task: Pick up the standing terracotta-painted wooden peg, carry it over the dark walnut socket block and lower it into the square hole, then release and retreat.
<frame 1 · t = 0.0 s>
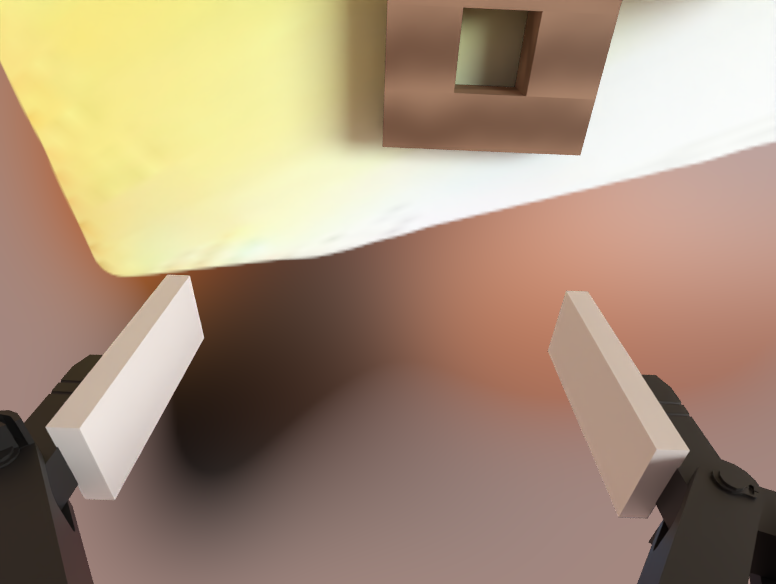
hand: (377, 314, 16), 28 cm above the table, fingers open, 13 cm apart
socket block: (491, 19, 35), on the table
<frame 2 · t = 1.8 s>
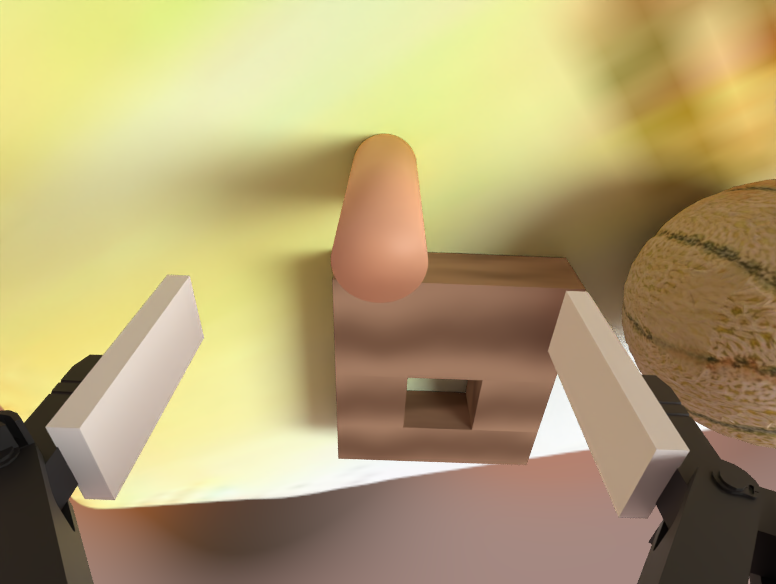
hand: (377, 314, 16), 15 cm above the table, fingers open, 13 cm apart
peg: (384, 166, 29), on the table
socket block: (439, 350, 37), on the table
cantaloupe: (696, 248, 32), on the table
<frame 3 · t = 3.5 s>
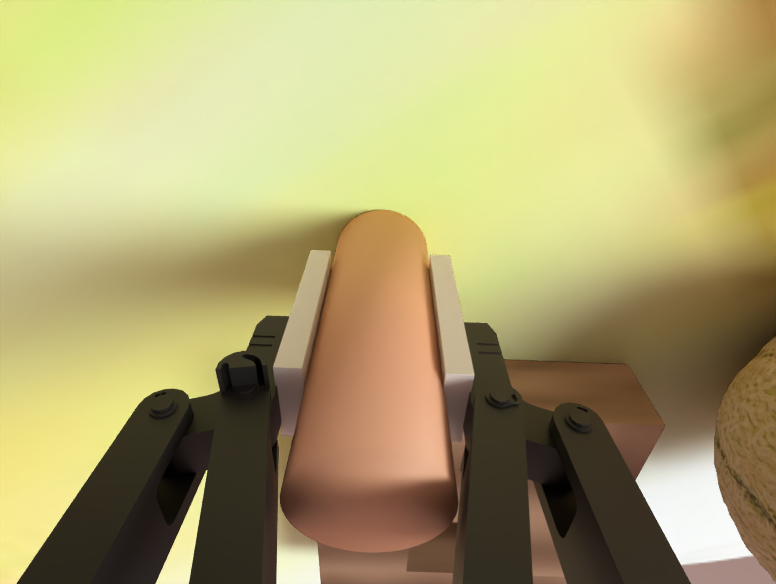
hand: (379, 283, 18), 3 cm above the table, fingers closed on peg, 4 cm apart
peg: (382, 252, 20), on the table, touching gripper
socket block: (453, 467, 29), on the table
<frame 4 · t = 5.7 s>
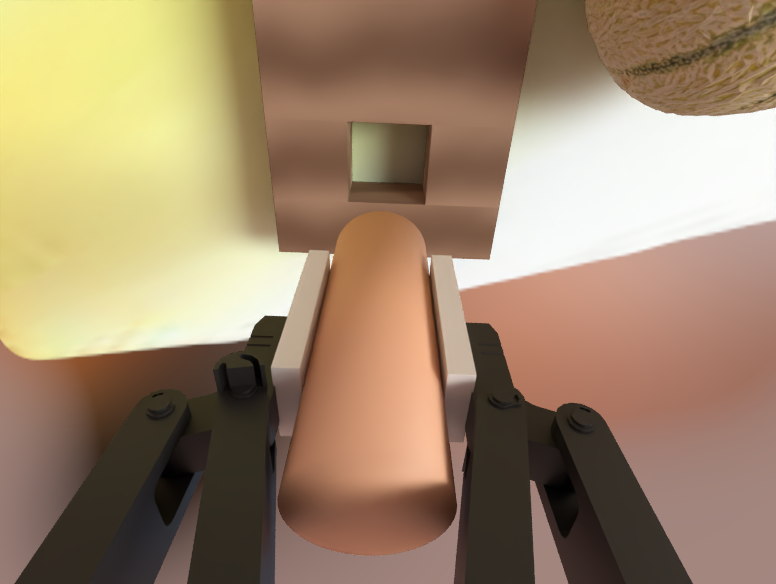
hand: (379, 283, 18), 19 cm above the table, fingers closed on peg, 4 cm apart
peg: (380, 253, 20), point 17 cm above the table, touching gripper
socket block: (389, 119, 33), on the table
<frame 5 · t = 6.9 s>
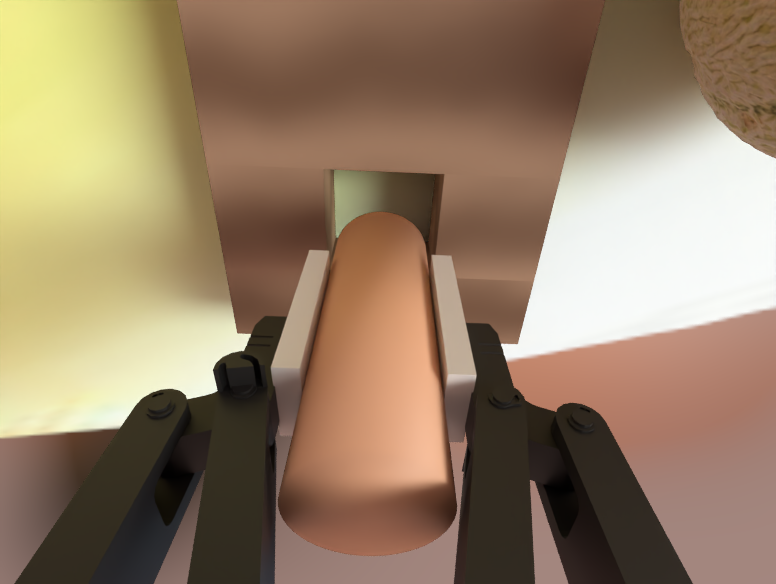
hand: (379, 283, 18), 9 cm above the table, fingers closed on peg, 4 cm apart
peg: (381, 253, 20), point 6 cm above the table, touching gripper
socket block: (384, 160, 24), on the table
when the fingers open (5 cm above the table, at t = 8.0 s): peg drops 3 cm, resting in socket block.
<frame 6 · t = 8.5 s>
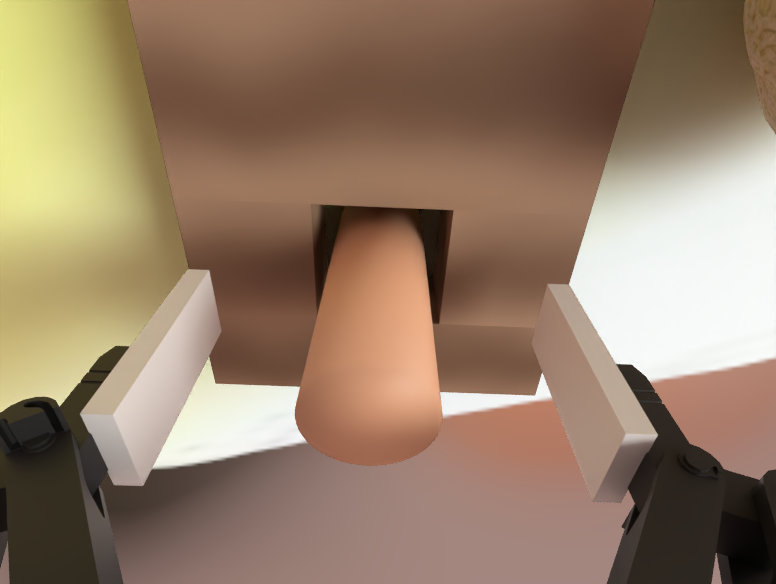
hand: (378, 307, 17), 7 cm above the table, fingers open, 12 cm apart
peg: (380, 227, 22), resting in socket block
socket block: (383, 188, 21), on the table
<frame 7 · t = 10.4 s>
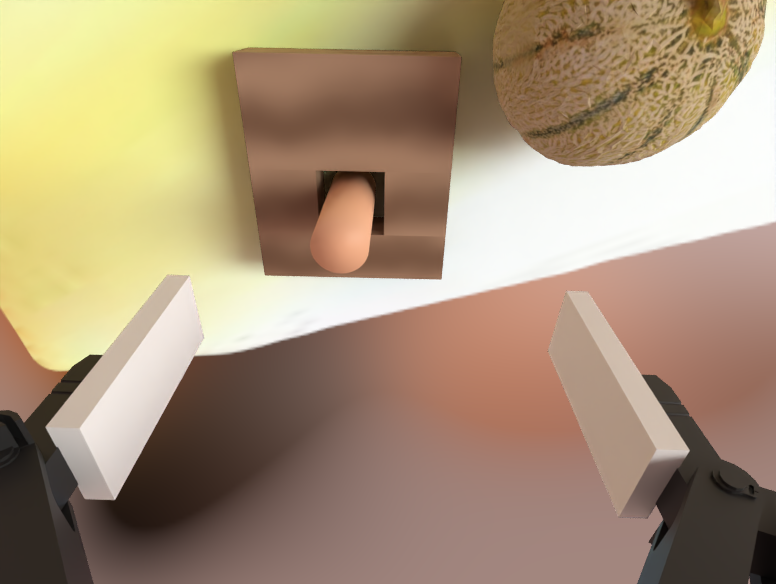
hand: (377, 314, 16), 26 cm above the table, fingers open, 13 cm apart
peg: (354, 187, 41), resting in socket block
socket block: (354, 165, 40), on the table
cantaloupe: (574, 39, 35), on the table
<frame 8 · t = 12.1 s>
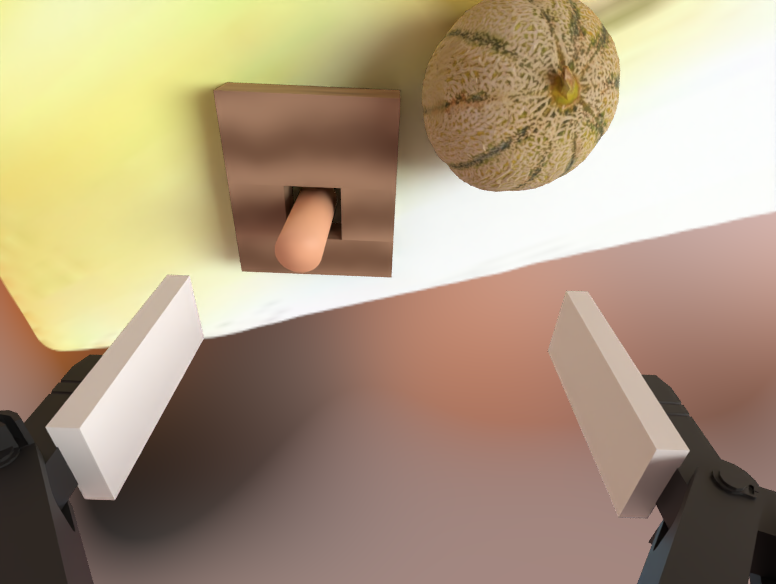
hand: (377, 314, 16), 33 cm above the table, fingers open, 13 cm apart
peg: (318, 198, 49), resting in socket block
socket block: (318, 180, 47), on the table
cantaloupe: (497, 82, 42), on the table
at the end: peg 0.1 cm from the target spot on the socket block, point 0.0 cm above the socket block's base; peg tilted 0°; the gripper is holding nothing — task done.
